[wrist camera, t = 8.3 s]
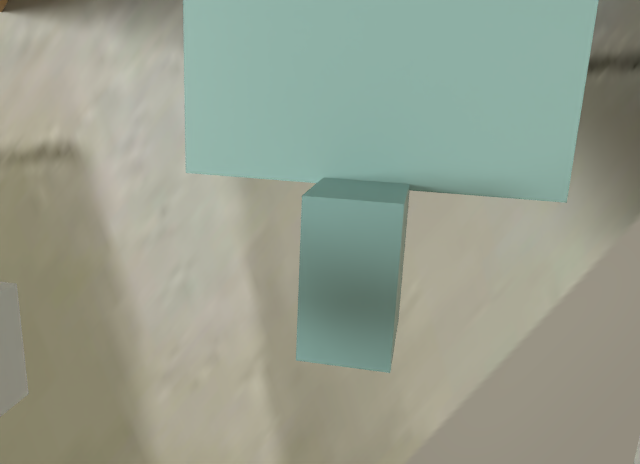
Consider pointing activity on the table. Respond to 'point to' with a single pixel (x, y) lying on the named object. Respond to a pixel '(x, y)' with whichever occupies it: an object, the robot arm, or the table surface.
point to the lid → (381, 128)
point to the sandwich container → (2, 4)
